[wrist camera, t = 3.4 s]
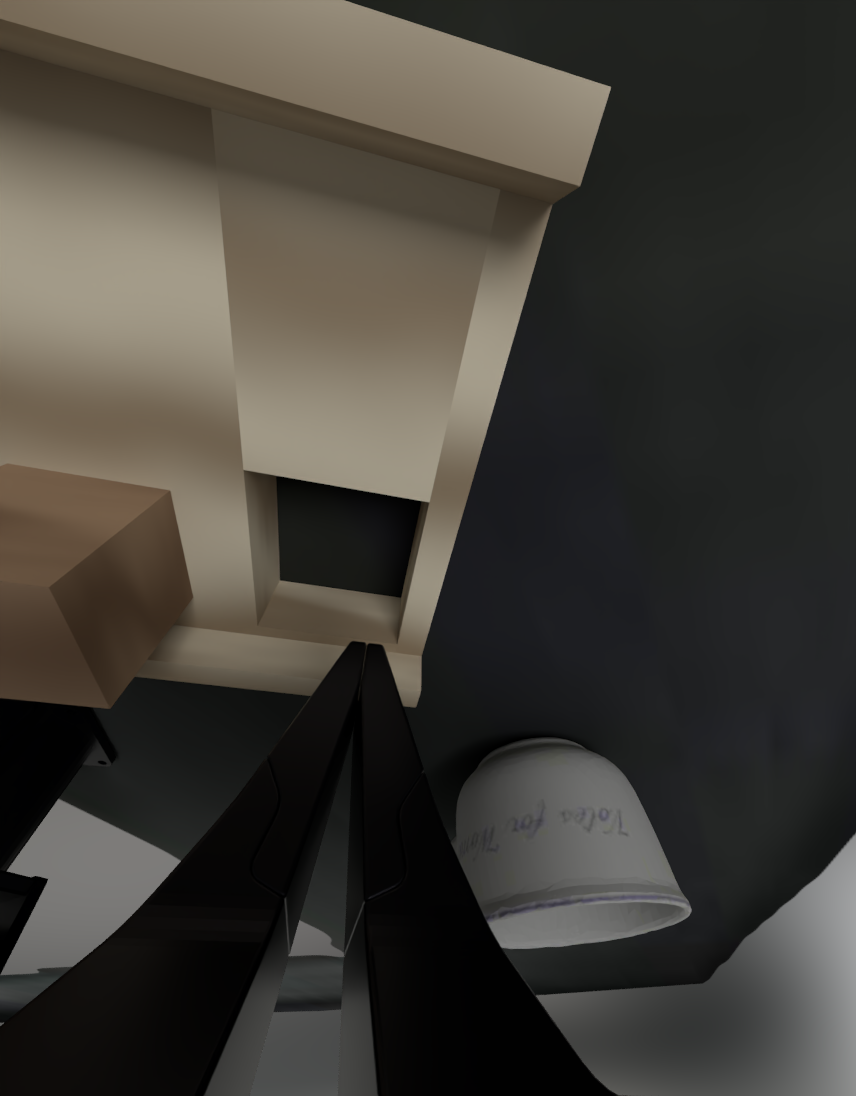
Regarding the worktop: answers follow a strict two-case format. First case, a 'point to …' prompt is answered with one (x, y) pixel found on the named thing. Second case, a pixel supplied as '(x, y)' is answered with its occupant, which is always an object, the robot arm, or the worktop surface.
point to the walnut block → (83, 584)
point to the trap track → (270, 286)
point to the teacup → (561, 848)
